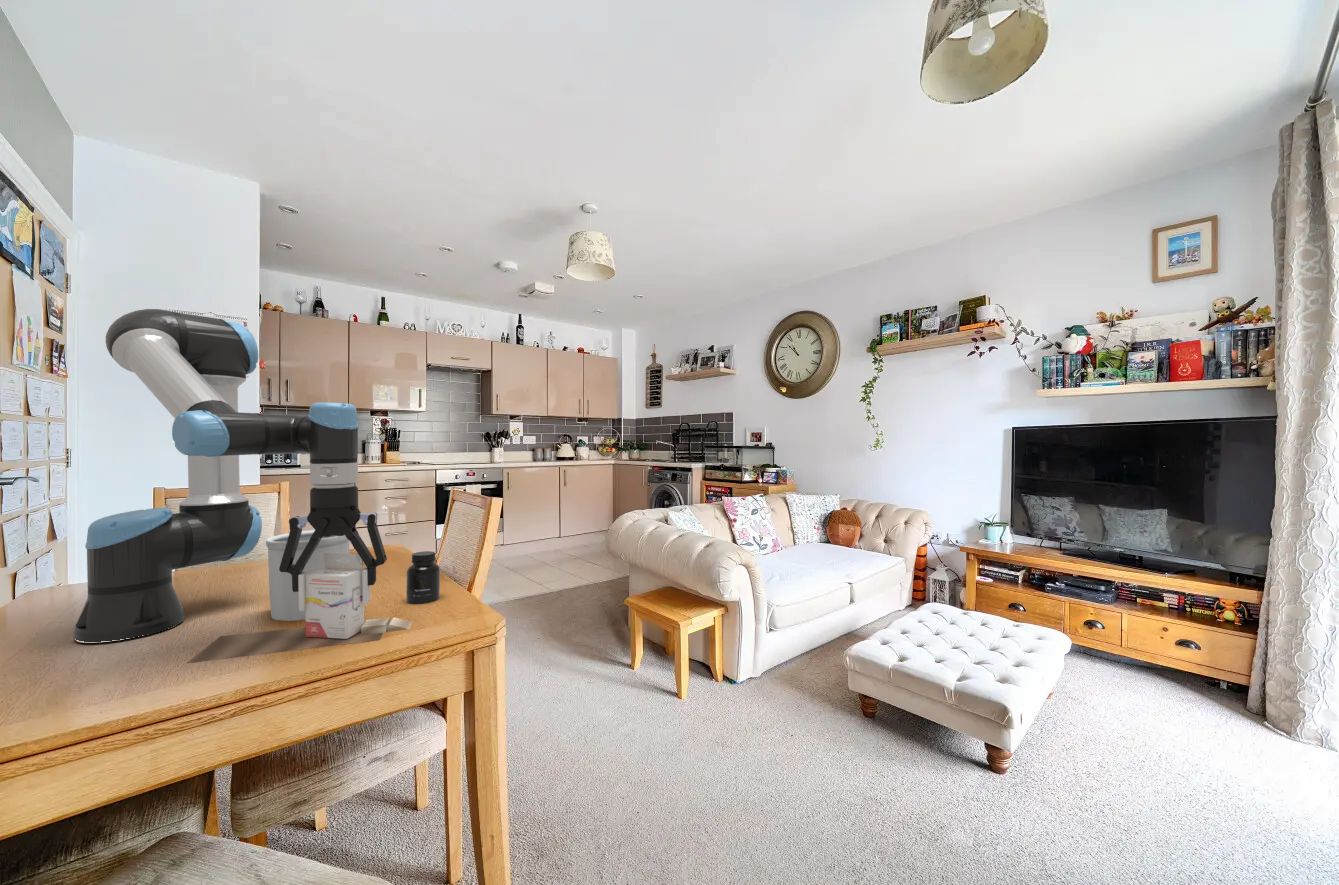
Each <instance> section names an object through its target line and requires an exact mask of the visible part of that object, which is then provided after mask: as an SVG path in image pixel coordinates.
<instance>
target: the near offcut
mask: <svg viewBox="0 0 1339 885" xmlns="http://www.w3.org/2000/svg"><path fill="white" fill-rule="evenodd" d="M390 618H391V617H384V618H383V617H382V618H371V619H366V620H364V621H365V623H364V624H363V625H362V627H361V635H367V634H377V633H383V634H385V633H386V631H387V628H388V626H389V624H390V622H391V619H390ZM387 632H388V631H387Z"/></svg>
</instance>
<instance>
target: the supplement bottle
mask: <svg viewBox="0 0 1339 885" xmlns="http://www.w3.org/2000/svg"><path fill="white" fill-rule="evenodd" d="M435 561H436V552H435V551H429V550H428V551H426V550H425V551H417V552H414V553H412V554H411V563H412V564H411V565H409V566H408V567H407V570H406V603H407V604H410V605H424V604H425V605H426V604H429V603H433V602H436V601H438V600H439V599H440V593H441V592H440V587H441V584H440V582H441V580H440V579H441V577H440V576H441V568H440V565H439V564H437V563H436V562H435Z"/></svg>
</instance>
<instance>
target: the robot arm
mask: <svg viewBox="0 0 1339 885" xmlns="http://www.w3.org/2000/svg"><path fill="white" fill-rule="evenodd" d="M105 345H106V349H107V352H108V353H109V355H110V357H111V358H112V359H113V360H114V361H115V362H116V363H117V364H118V365H119V366H120V367H121V368H123V369H125V370H126V371H128V372H130V373H131V372H132V373H134V374H135V375H136V376H137V377H138V379H139V380H140V381H141V382H142V383H143V385H144V386H145V387H146V388H147V389H148V390H149V391H150V392H151V393H152V395H153V396H154V397H155V398H156V399H157V401H159V402H160V403H161V405H162V406H163V407H164V408H165V409H166V410H167V412H169V413H170V415H171V416H172V417H173V418H174V421H173V424H172V427H171V437H172V441H174V447H175V449H176V450H177V452H180V454H182V455H184V456H187V472H188V473H187V480H188V481H187V482H188V483H187V487H188V495H187V497H186V498H184V499H183V500H182V501H181V502H180V503H179V506H178V508H179V509H178V511H179V512H178V513H177V512H176V513H173V512H172V509H170V508H167V507H153V508H146V509H138V510H130V511H126V512H125V511H124V512H121V513H115V514H112V515H108V516H104V517H101V518H99V519H96V520H95V521H93V522H91V524H89V526H88V528H87V532H86V533H87V534H86V542H85V549H86V564H87V565H86V567H87V568H86V570H87V571H86V572H87V574H86V575H87V576H86V577H87V579H86V580H87V598H86V600H85V603H84V605H83V608H82V610H81V612H80V615H79V617H78V619H77V621H76V623H75V626H74V628H73V629H74V630H73V632H74V635H73V639H74V638H75V639H76V640H79V641H84V642H101V641H112V640H120V639H126V638H133V637H138V636H142V635H147V634H151V635H153V634H152V633H155V634H157V633H156V632H158V633H160V632H159V631H162V630H165V629H168V628H170V629H172V628H171V627H173V626H175V625H177V626H178V624H179V623H181V622H182V621H183V620H185V610H184V609H185V608H184V607H183V604H182V603H181V600H180V598H179V596H178V594H177V592H176V589H175V587H174V586H173V570H178V569H183V568H190V567H193V566H200V565H205V564H211V563H216V562H227V561H230V560H233V559H237V558H241V557H245V556H246V555H248V554H250V553H251V552H252V551H253V550H254V549H255V547H256V546H257V545H258V543H259V541H260V538H261V534H262V527H263V526H262V524H263V523H262V522H263V521H262V517H261V515H260V511H259V510H258V508H257V507H255V506H252V505H250V504H249V502H250V500H249V498H248V497H247V496H246V495H244V494H242V493H241V490H240V489H241V486H240V484H241V483H240V456H248V455H250V456H252V455H255V456H256V455H283V454H284V455H292V454H293V455H294V454H296V455H299V454H309V483H310V485H311V486H313V487H311V489H310V490H309V499H310V500H309V509H310V510H309V513H308V515H304V516H300V515H296V516H293V517H290V518H289V519H288V520H289V521H288V525H289V532H288V533H289V537H288V540H287V544H286V547H285V550H284V554H283V557H282V561H281V564H280V567H279V571H280V572H287V573H290V574H291V575H292V590H293V592H299V611H304V610H305V609H306V583H305V579H306V577H305V575H306V574H308V571H305V572H302V570H304V567H305V565H306V564H307V562H308V560H309V559H310V557H311V555H312V554H313V552H314V550H315V549H316V547H317V545H318V544H319V542H320V540H321V539H322V538H323V536H324V537H329V536H333V535H335V536H344V535H345V536H346V537H347V539H348V540H349V543H351V544H350V545H352V547H353V548H354V550H355V551H356V552H357V553H356V554H359V556H360V557H361V559H362V560H363V565H365V567H363V570H362V586H363V605H364V606H367V605H368V604H369V603H370V601H371V586H374V585H375V584H376V581H377V567H379V566H382V565H384V564H385V563H386V561H387V559H388V557H387V554H386V551H385V547H384V544H383V541H382V540H383V539H382V538H381V533H380V531H379V528H378V524H377V523H378V514H377V512H371V513H362V512H361V510H360V508H359V487H358V486H357V485H355V484H357V483H358V482H359V467H358V466H359V462H358V452H359V448H358V447H359V444H358V443H359V422H358V411H357V407H356V406H355V405H353V404H351V403H346V402H314V403H312V404H310V407H309V410H308V414H290V413H289V414H288V413H287V414H286V413H259V412H258V413H257V412H239V398H238V397H239V396H238V395H239V394H238V388H239V387H240V386H241V385H242V384H244V383H245V382H246V381H247V375H249V374H252V373H253V372H254V371H255V370H256V368H257V364H258V363H259V362H258V361H259V347H258V343H257V341H256V339H255V336H254V335H253V333H252V332H251V331H250V330H249V329H248V327H246V326H245V325H243V324H241V323H239V322H238V323H237V322H235V321H230V320H225V319H223V318H215V317H208V316H202V315H198V314H197V315H196V314H190V313H183V312H177V311H171V310H167V309H160V308H144V309H137V310H134V311H131V312H128V313H125V314H123V315H122V316H119V317H118V318H116V319H115V321H113V322H112V323H111V325H109V327H108V329H107V331H106V334H105ZM360 520H361V521H362V523H363V525H365V526H366V528H367V534H368V536H369V539H370V542H371V545H372V549H373V553H374V555H375V556H374V555H373V554H372V552H370V550H369V548H368V546H367V545H366V544H365V542H364V540H363V539H362V537H361V536H360V534H359V532H358V530H357V528H356V527H355V526H356V525H357V524H358V522H359V521H360ZM307 523H308V524H310V525H311V527H312V528H313V530H315V531H314V533H313V534H312V536H311V538H310V540H309V542H308V544H307V545H306V547H305V549H304V550H303V552H302V554H301V555H300V557H299V559H298V560H297V562H296V564H295V565H293V560H294V557H295V553H296V550H297V546H298V543H299V539H300V536H301V533H302V531H303V528H305V527H306V525H307ZM374 557H375V558H374ZM183 622H184V621H183ZM183 622H182V623H183ZM182 623H181V624H182ZM179 625H180V624H179ZM175 627H176V626H175ZM173 628H174V627H173ZM168 630H169V629H168ZM165 631H166V630H165ZM162 632H163V631H162ZM147 636H148V635H147Z"/></svg>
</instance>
